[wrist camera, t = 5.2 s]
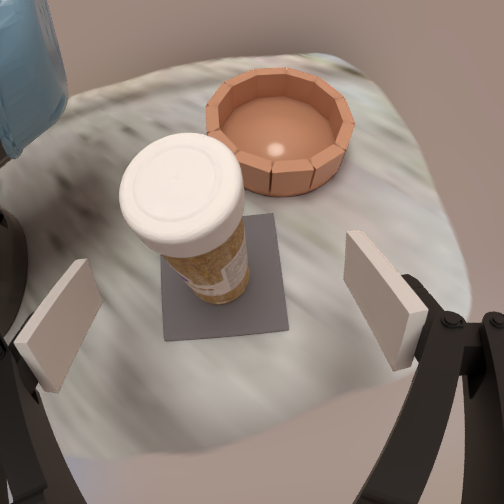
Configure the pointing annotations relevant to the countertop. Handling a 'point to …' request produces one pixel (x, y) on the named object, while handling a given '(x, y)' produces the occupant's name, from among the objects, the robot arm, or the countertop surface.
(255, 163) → the terracotta bowl
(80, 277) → the robot arm
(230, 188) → the sprinkles bottle
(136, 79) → the countertop surface
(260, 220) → the rubber mat
